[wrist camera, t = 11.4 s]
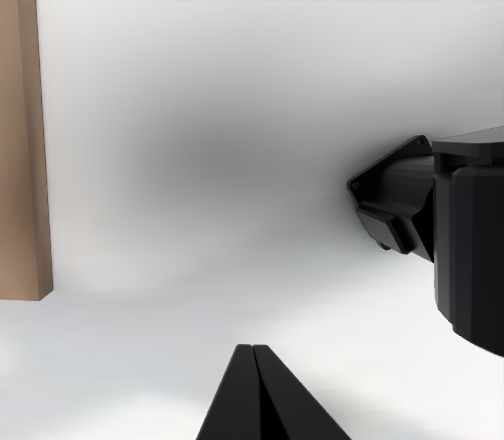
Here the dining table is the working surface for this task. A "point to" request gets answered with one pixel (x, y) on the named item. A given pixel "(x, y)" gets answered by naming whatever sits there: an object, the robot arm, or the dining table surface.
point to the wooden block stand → (22, 159)
